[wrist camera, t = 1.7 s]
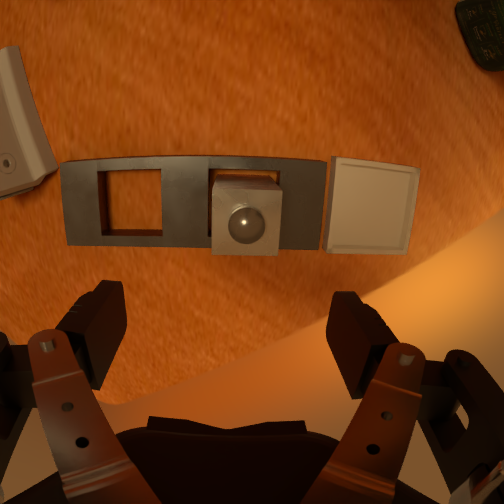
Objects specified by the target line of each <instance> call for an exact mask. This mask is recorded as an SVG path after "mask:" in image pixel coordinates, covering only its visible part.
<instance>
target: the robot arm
mask: <svg viewBox="0 0 504 504" xmlns="http://www.w3.org/2000/svg"><path fill="white" fill-rule="evenodd" d="M126 328H127V315H126V307H125V299H124V290H123V285H122V282H121V281H110V280H102V281H101V282H100V283H99V284H98V286H97V287H96V288H95V289H94V291H93V292H91V291H89V292H87V293H86V294H84V295H82V296H81V297H79V298H78V300H77V301H76V302H75V303H74V306H72V307H71V308H70V310H69V312H67V313H66V315H65V316H64V317H63V319H62V320H61V321H60V322H59V324H58V325H57V326H56V328H55V329H47V330H42V331H40V332H38V333H36V334H34V335H33V336H32V337H31V338H30V339H29V341H28V345H10V344H9V341H8V338H7V336H6V335H5V334H4V333H3V332H0V504H439V503H437V502H436V501H434V500H432V499H430V498H429V497H427V496H425V495H423V494H422V493H420V492H418V491H417V490H415V489H413V488H411V487H410V486H408V485H406V484H405V483H403V482H401V481H400V480H398V476H399V473H400V470H401V467H402V465H403V462H404V458H405V456H406V452H407V449H408V446H409V443H410V440H411V436H412V433H413V430H414V426H415V422H416V420H418V422H419V424H420V427H421V429H422V431H423V433H424V435H425V437H426V439H427V441H428V444H429V446H430V447H431V450H432V452H433V455H434V457H435V459H436V461H437V463H438V466H439V468H440V470H441V473H442V475H443V477H444V479H445V482H446V484H447V487H448V489H449V491H450V494H451V497H450V499H449V504H504V392H503V391H502V389H501V388H500V387H499V385H498V384H497V383H496V382H495V380H494V379H493V378H492V377H491V375H490V374H489V373H488V371H487V370H486V369H485V368H484V366H483V365H482V364H481V363H480V361H479V360H478V359H477V358H476V357H475V356H474V355H472V354H471V353H469V352H466V351H464V350H458V349H457V350H451V351H449V352H448V353H447V355H446V357H445V359H444V362H440V361H430V360H426V358H425V355H424V354H423V352H422V351H421V350H420V349H418V348H417V347H415V346H413V345H410V344H407V343H400V342H399V341H398V339H397V338H396V336H395V335H394V334H393V332H392V331H391V330H390V328H389V327H388V326H386V323H385V322H384V320H383V319H382V318H381V316H380V315H379V314H378V312H377V311H376V310H375V309H373V308H372V307H370V306H369V305H368V304H363V302H362V301H361V299H360V298H359V297H358V295H357V294H356V293H355V292H354V291H336V292H335V293H334V294H333V298H332V302H331V307H330V312H329V317H328V322H327V326H326V338H327V342H328V344H329V347H330V349H331V351H332V354H333V356H334V358H335V360H336V363H337V365H338V368H339V370H340V372H341V375H342V376H343V379H344V382H345V384H346V386H347V389H348V391H349V394H350V396H351V398H352V399H361V398H363V399H362V401H361V403H360V405H359V407H358V409H357V411H356V413H355V415H354V416H353V419H352V420H351V423H350V424H349V426H348V428H347V429H346V432H345V433H344V435H343V437H342V439H341V440H340V441H338V440H336V439H334V438H331V437H329V436H326V435H323V434H319V433H315V432H310V431H307V429H306V425H305V421H303V420H301V421H280V422H265V423H260V424H255V425H250V426H244V427H239V428H234V429H222V428H217V427H213V426H209V425H205V424H201V423H197V422H194V421H190V420H185V419H173V418H163V417H154V416H149V419H148V423H147V427H139V428H134V429H130V430H126V431H123V432H121V433H118V434H116V435H115V434H114V432H113V430H112V429H111V427H110V425H109V423H108V421H107V419H106V417H105V415H104V413H103V412H102V410H101V408H100V406H99V404H98V402H97V400H96V397H95V395H94V393H93V391H92V389H94V390H99V391H100V388H101V386H102V384H103V381H104V379H105V377H106V374H107V372H108V370H109V368H110V365H111V363H112V361H113V359H114V356H115V354H116V352H117V350H118V347H119V345H120V343H121V341H122V339H123V337H124V335H125V332H126ZM460 404H461V405H462V406H463V408H464V409H465V411H466V413H467V415H468V418H469V424H468V428H467V430H466V429H465V428H464V426H463V424H462V422H461V420H460V419H459V417H458V415H457V414H456V411H457V409H458V408H459V406H460ZM32 408H38V411H39V415H40V418H41V422H42V425H43V429H44V432H45V435H46V438H47V441H48V444H49V447H50V450H51V453H52V456H53V458H54V461H55V464H56V467H57V469H58V471H57V472H55V473H54V474H52V475H50V476H49V477H47V478H46V479H44V480H42V481H41V482H39V483H37V484H35V485H34V486H32V487H30V488H29V489H27V490H25V491H24V492H22V493H20V494H18V495H16V496H15V497H13V498H11V499H9V500H7V501H6V502H4V492H3V489H2V487H1V482H2V479H3V477H4V474H5V471H6V469H7V466H8V463H9V461H10V458H11V456H12V453H13V451H14V448H15V446H16V444H17V441H18V439H19V436H20V434H21V432H22V430H23V427H24V425H25V423H26V421H27V418H28V416H29V414H30V412H31V409H32Z"/></svg>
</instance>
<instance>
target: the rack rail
mask: <svg viewBox="0 0 504 504" xmlns="http://www.w3.org/2000/svg"><path fill="white" fill-rule="evenodd" d="M210 168H219V169H255V170H277V178H276V184H277V185H278V186H279V187H280V188H281V190H282V191H283V192H282V207H281V221H280V235H279V248H278V249H293V250H318V248H319V239H320V231H321V222H322V212H323V202H324V192H325V181H326V169H327V162H324V161H321V160H311V159H297V158H282V157H263V156H236V155H156V156H130V157H111V158H97V159H84V160H73V161H67V162H62V163H60V176H61V191H62V203H63V213H64V222H65V230H66V238H67V245H74V246H135V247H191V248H212V230H209V184H210ZM128 169H161V197H162V228H163V230H142V229H109V224H108V211H107V196H106V175H105V171H107V170H128Z"/></svg>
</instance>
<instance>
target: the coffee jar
mask: <svg viewBox="0 0 504 504" xmlns="http://www.w3.org/2000/svg"><path fill="white" fill-rule="evenodd" d="M456 15H457V18H458V21H459V24H460V27H461V30H462V33H463V35H464V38H465V40H466V43H467V45H468V47H469V50H470V52H471V54H472V56H473V58H474V59H475V61H476V62H477V63H478V64H479V65H480V66H481V67H482V68H484V69H486V70H488V71H504V0H460V1H459V2H458V3H457V5H456Z"/></svg>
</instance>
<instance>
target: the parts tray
mask: <svg viewBox="0 0 504 504" xmlns="http://www.w3.org/2000/svg"><path fill="white" fill-rule="evenodd" d="M419 176H420V168H416V167H412V166H406V165H399V164H393V163H386V162H378V161H371V160H363V159H355V158H346V157H336V156H331V169H330V180H329V191H328V201H327V211H326V220H325V229H324V238H323V246H322V248H323V249H324V251H325V252H326V253H333V254H385V255H407V250H408V245H409V240H410V235H411V229H412V224H413V218H414V212H415V205H416V199H417V192H418V184H419Z"/></svg>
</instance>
